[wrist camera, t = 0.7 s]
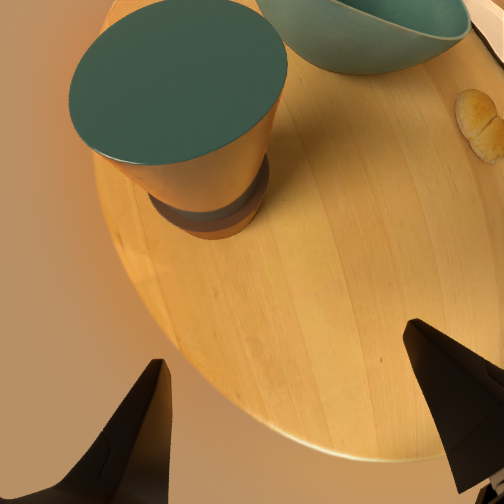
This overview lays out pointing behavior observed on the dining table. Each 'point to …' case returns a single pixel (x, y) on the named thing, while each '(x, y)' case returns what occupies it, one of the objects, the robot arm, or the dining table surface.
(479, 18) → the plate
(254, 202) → the stand
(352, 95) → the dining table surface
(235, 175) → the teal cylinder
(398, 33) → the teal bowl
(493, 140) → the bread roll
